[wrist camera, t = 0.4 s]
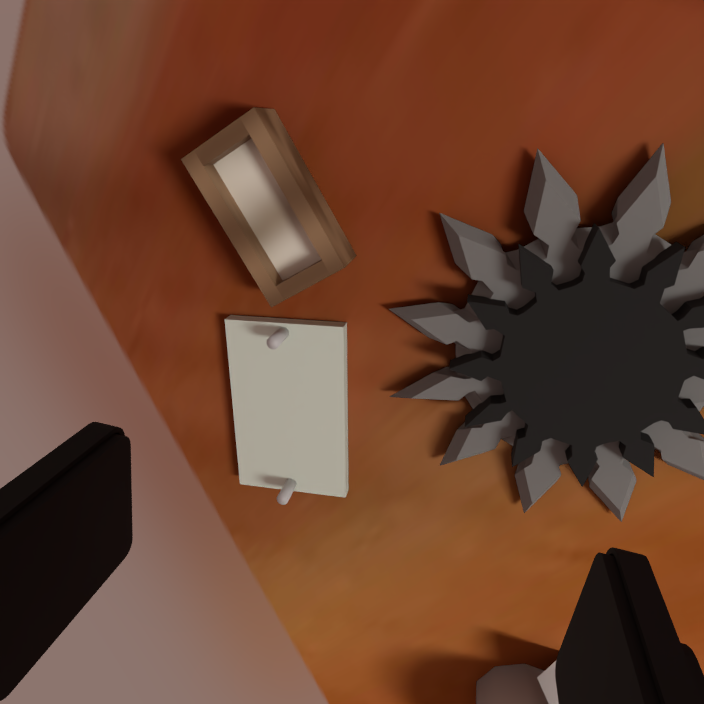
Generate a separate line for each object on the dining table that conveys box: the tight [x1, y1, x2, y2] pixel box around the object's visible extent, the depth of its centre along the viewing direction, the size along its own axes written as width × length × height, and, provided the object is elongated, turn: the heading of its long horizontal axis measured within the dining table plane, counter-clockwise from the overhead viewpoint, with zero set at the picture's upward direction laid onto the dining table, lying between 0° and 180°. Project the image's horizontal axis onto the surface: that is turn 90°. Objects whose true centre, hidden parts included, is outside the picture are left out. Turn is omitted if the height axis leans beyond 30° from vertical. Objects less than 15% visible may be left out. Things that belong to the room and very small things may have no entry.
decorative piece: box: [389, 144, 704, 522], centre depth 41 cm, size 30×4×30 cm
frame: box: [181, 107, 356, 307], centre depth 41 cm, size 12×6×4 cm, turn 31°
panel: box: [225, 315, 348, 505], centre depth 48 cm, size 16×10×4 cm, turn 1°
